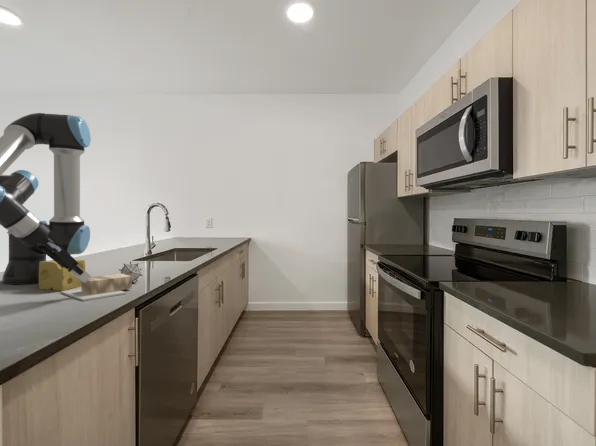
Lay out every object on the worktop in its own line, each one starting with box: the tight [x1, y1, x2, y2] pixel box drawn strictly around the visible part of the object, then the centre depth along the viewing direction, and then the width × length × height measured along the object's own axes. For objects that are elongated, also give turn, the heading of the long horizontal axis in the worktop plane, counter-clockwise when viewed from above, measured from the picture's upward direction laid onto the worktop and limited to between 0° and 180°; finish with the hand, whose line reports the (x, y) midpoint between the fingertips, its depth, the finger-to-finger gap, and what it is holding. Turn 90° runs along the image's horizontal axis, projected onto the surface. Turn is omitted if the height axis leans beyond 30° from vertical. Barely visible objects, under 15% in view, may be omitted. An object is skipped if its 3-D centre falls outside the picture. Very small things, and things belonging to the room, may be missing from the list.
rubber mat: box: [60, 288, 127, 302], centre depth 123 cm, size 14×16×1 cm
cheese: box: [38, 259, 86, 292], centre depth 131 cm, size 10×11×10 cm
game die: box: [118, 261, 143, 282], centre depth 143 cm, size 9×8×10 cm
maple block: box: [81, 273, 133, 295], centre depth 126 cm, size 4×7×14 cm
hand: (87, 279), depth 120 cm, fingers closed
